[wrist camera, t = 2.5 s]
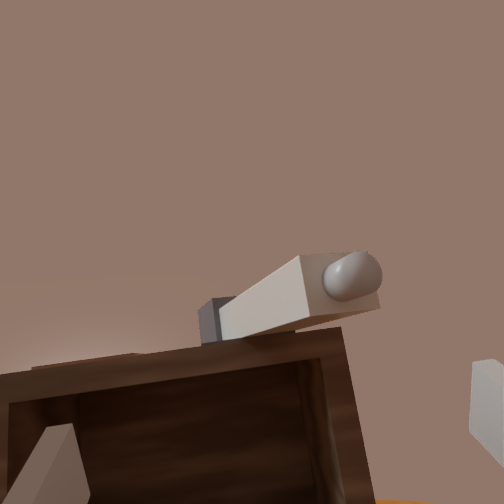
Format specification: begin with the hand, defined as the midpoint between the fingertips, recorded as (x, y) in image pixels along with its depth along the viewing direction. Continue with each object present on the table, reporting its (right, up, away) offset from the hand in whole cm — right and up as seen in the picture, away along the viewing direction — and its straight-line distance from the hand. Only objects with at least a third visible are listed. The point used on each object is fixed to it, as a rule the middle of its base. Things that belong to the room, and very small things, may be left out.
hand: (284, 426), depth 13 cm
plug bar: (0, 0, +16) cm, 16 cm away
